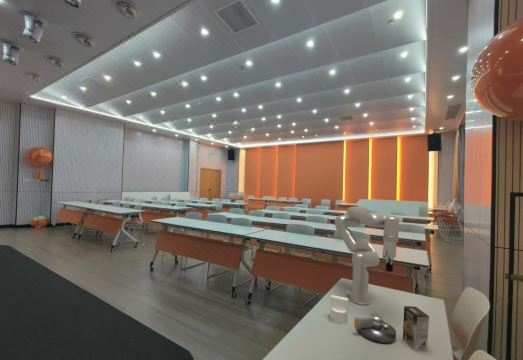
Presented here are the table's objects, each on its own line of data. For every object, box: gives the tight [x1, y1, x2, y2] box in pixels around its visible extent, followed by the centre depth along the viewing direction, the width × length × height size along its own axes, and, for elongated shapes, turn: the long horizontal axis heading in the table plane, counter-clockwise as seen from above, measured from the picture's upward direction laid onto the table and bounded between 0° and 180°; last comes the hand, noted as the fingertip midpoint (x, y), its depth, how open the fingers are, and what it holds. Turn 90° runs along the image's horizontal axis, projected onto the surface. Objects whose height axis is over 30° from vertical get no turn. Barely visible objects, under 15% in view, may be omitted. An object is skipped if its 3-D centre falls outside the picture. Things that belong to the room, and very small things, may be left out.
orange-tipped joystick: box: [353, 312, 384, 330], centre depth 128 cm, size 15×6×5 cm, turn 102°
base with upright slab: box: [329, 294, 349, 325], centre depth 140 cm, size 9×9×12 cm
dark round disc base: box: [356, 320, 397, 344], centre depth 128 cm, size 18×18×4 cm
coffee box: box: [402, 305, 430, 352], centre depth 120 cm, size 9×6×16 cm
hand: (389, 271), depth 143 cm, fingers closed
